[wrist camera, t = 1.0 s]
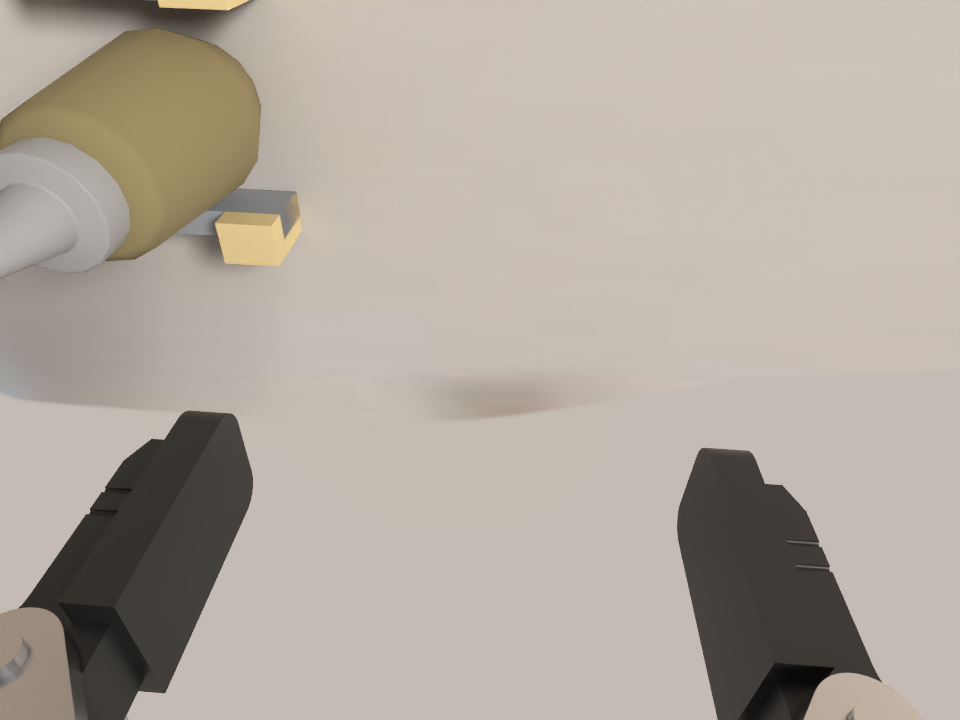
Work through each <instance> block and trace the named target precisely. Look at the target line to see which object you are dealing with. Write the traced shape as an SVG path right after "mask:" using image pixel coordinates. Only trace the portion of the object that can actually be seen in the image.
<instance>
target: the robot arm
mask: <svg viewBox="0 0 960 720" xmlns="http://www.w3.org/2000/svg"><path fill="white" fill-rule="evenodd" d="M105 488H106V490H105V492H101V494H100V495H99V497H98V498H97V500H96V501H95V502H94V504H93V505H92V507H91V508H90V510H91V511H90V514H89V515H87V514H86V515H85V517H84V518H83V520H82V521H81V523H80V524H79V525H78V527H77V528H76V530H75V531H74V533H73V534H72V535H71V537H70V538H69V540H68V541H67V543H66V544H65V545H64V547H63V548H62V550H61V551H60V553H59V554H58V555H57V557H56V558H55V560H54V561H53V563H52V564H51V566H50V567H49V568H48V570H47V571H46V573H45V574H44V576H43V577H42V578H41V580H40V581H39V583H38V584H37V585H36V587H35V588H34V590H33V591H32V593H31V594H30V596H29V597H28V598H27V599H26V601H25V602H24V603H23V604H22V606H20V607H19V609H15V610H10V611H8V612H5V613H2V614H0V720H128V717H127V713H128V711H129V709H130V707H131V705H132V702H133V700H134V698H135V696H136V694H137V692H138V691H144V692H156V693H165V692H166V690H167V688H168V686H169V683H170V681H171V679H172V677H173V675H174V672H175V670H176V668H177V666H178V663H179V661H180V659H181V657H182V655H183V652H184V650H185V648H186V645H187V643H188V641H189V639H190V637H191V635H192V632H193V630H194V628H195V626H196V623H197V621H198V619H199V617H200V614H201V612H202V610H203V608H204V605H205V603H206V601H207V599H208V597H209V594H210V592H211V590H212V588H213V585H214V583H215V581H216V579H217V577H218V574H219V572H220V570H221V568H222V565H223V563H224V561H225V559H226V556H227V554H228V552H229V550H230V548H231V545H232V543H233V541H234V539H235V536H236V534H237V532H238V530H239V528H240V525H241V523H242V521H243V519H244V517H245V514H246V512H247V510H248V507H249V504H250V501H251V496H252V489H253V476H252V471H251V467H250V464H249V460H248V457H247V453H246V449H245V446H244V442H243V439H242V435H241V432H240V428H239V424H238V421H237V419H236V417H235V416H234V415H233V414H229V413H215V412H200V411H186V412H184V413H183V414H182V415H181V416H180V417H179V418H178V420H177V421H176V423H175V424H174V426H173V427H172V429H171V430H170V432H169V433H168V435H167V437H166V438H165V440H158V439H151V440H150V441H149V442H147V443H146V444H145V445H143V446H142V447H141V448H140V449H138V450H137V451H136V452H134V453H133V454H132V455H130V456H129V457H128V458H127V459H125V460H124V461H123V462H122V464H121V465H120V467H119V468H118V470H117V471H116V472H115V474H114V475H113V477H112V478H111V480H110V481H109V482H108V484H107V486H106V487H105ZM677 531H678V541H679V546H680V550H681V555H682V559H683V564H684V568H685V573H686V578H687V582H688V587H689V591H690V596H691V600H692V605H693V609H694V613H695V618H696V623H697V627H698V632H699V636H700V641H701V645H702V650H703V655H704V659H705V663H706V668H707V673H708V677H709V682H710V686H711V691H712V696H713V700H714V705H715V708H716V714H717V718H718V720H924V719H923V718H922V717H921V715H920V714H919V713H918V711H917V710H916V709H915V708H914V707H913V706H912V705H911V704H910V703H909V702H908V701H907V700H906V699H905V698H903V697H902V696H901V695H900V694H899V693H897V692H896V691H895V690H893V689H892V688H890V687H889V686H887V685H885V684H883V683H882V681H881V680H880V678H879V677H878V675H877V673H876V671H875V669H874V667H873V665H872V663H871V661H870V658H869V656H868V654H867V651H866V649H865V647H864V644H863V642H862V640H861V637H860V635H859V633H858V630H857V628H856V626H855V624H854V621H853V619H852V617H851V614H850V612H849V610H848V607H847V605H846V603H845V600H844V598H843V596H842V593H841V591H840V589H839V586H838V584H837V582H836V580H835V577H834V575H833V573H832V572H830V571H829V567H830V566H829V563H828V561H827V559H826V556H825V554H824V552H823V549H822V547H819V540H818V538H817V535H816V533H815V531H814V529H813V526H812V524H811V522H810V519H809V517H808V515H807V512H806V511H805V510H804V509H803V508H802V507H801V505H800V504H799V503H798V502H797V501H796V500H795V499H794V498H793V497H792V496H791V494H790V493H789V492H788V491H787V490H786V489H785V488H784V487H783V486H782V485H770V484H765V483H764V480H763V478H762V475H761V473H760V470H759V467H758V465H757V462H756V460H755V458H754V456H753V454H752V453H751V452H749V451H742V450H728V449H712V448H702V449H701V450H700V451H699V453H698V455H697V457H696V460H695V463H694V466H693V469H692V472H691V474H690V477H689V480H688V483H687V486H686V489H685V492H684V494H683V497H682V500H681V503H680V506H679V511H678V522H677Z"/></svg>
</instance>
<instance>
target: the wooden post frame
mask: <svg viewBox="0 0 960 720" xmlns="http://www.w3.org/2000/svg"><path fill="white" fill-rule="evenodd" d="M147 1H158V4H159V7H165V8H188V9H212V10H230V9H232V8H234V7H237V6H239V5H241V4H243V3H245V2H247V1H249V0H147ZM301 231H302V225H301V219H300V213H299V207H298V201H297V195H296V192H289V191H270V190H251V189H235V190H234V191H232V192H231V193H230V194H228V195H227V196H225V197H224V198H223V199H221V200H220V201H219V202H217V203H216V204H215V205H213V206H212V207H210V208H209V209H208V210H206V211H205V212H204V213H202V214H201V215H200V216H198V217H197V218H195V219H194V220H193V221H191V222H190V223H189V224H187V225H186V226H185V227H183V228H182V229H181V230H179V231H178V232H176V233H175V234H192V235H210V236H218V237H219V241H220V245H221V249H222V253H223V257H224V261H225V263H227V264H245V265H262V266H280V264H281V263H282V261H283V260H284V258H285V256H286V255H287V253H288V252H289V250H290V248H291V247H292V245H293V244H294V242H295V240H296V239H297V237H298V236H299V234H300V233H301Z"/></svg>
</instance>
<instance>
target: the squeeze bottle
mask: <svg viewBox="0 0 960 720" xmlns="http://www.w3.org/2000/svg"><path fill="white" fill-rule="evenodd" d="M260 113H261V105H260V102H259V98H258V95H257V92H256V88H255V85H254V83H253V81H252V80H251V78H250V77H249V76H248V74H247V73H246V71H245V70H244V68H243V67H242V66H241V64H240V63H239V62H238V61H237V60H236V59H234V58H233V57H232V56H231V55H229V54H228V53H227V52H225V51H224V50H223V49H221V48H220V47H219V46H217V45H213V44H210V43H207V42H204V41H201V40H198V39H195V38H191V37H188V36H184V35H181V34H177V33H173V32H170V31H166V30H163V29H159V28H154V29H145V30H136V31H126V32H124V33H122V34H121V35H119V36H118V37H117V38H115V39H114V40H112V41H111V42H109V43H108V44H107V45H105V46H104V47H102V48H101V49H99V50H98V51H97V52H95V53H94V54H92V55H91V56H90V57H88V58H87V59H85V60H84V61H82V62H81V63H80V64H78V65H77V66H75V67H74V68H72V69H71V70H70V71H68V72H67V73H65V74H64V75H62V76H61V77H60V78H58V79H57V80H55V81H54V82H53V83H51V84H50V85H48V86H47V87H45V88H44V89H43V90H41V91H40V92H38V93H37V94H35V95H34V96H33V97H31V98H30V99H28V100H27V101H25V102H24V103H23V104H21V105H20V106H19V107H17V108H16V109H15V110H13V111H12V112H11V113H9V114H8V115H7V116H5V117H4V118H3V119H2V120H1V123H0V278H3V277H5V276H8V275H10V274H13V273H15V272H17V271H20V270H22V269H25V268H27V267H30V266H32V265H34V264H35V265H37V266H40V267H43V268H47V269H51V270H54V271H58V272H62V273H75V272H87V271H89V270H90V269H92V268H94V267H96V266H97V265H99V264H101V263H102V262H104V261H114V260H130V259H136V258H138V257H140V256H142V255H143V254H145V253H147V252H149V251H150V250H152V249H154V248H156V247H157V246H159V245H160V244H161V243H163V242H164V241H166V240H167V239H168V238H170V237H171V236H172V235H174V234H175V233H176V232H178V231H179V230H181V229H182V228H183V227H185V226H186V225H187V224H189V223H190V222H191V221H193V220H194V219H195V218H197V217H198V216H200V215H201V214H202V213H204V212H205V211H206V210H208V209H209V208H210V207H212V206H213V205H215V204H216V203H217V202H219V201H220V200H221V199H223V198H224V197H225V196H227V195H228V194H230V193H231V192H232V191H234V190H235V189H236V188H238V187H239V186H240V185H242V184H243V183H244V182H245V180H246V178H247V177H248V175H249V173H250V172H251V170H252V168H253V167H254V165H255V163H256V162H257V158H258V144H259V131H260Z"/></svg>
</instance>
